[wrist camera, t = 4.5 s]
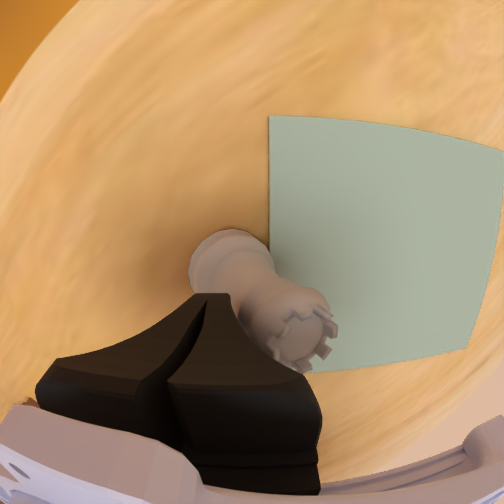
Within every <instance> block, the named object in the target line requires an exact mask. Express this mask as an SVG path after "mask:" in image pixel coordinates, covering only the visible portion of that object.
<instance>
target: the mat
mask: <svg viewBox="0 0 504 504" xmlns="http://www.w3.org/2000/svg"><path fill="white" fill-rule="evenodd" d="M503 190H504V151H501V150H498V149H494V148H491V147H488V146H484V145H481V144H477V143H474V142H470V141H466V140H462V139H458V138H454V137H450V136H445V135H441V134H436V133H431V132H427V131H421V130H416V129H411V128H405V127H399V126H392V125H386V124H379V123H371V122H363V121H354V120H344V119H332V118H318V117H299V116H269V253H270V255H271V257H272V259H273V260H274V267H275V273H276V274H277V275H278V276H279V277H280V278H287V279H290V280H291V281H293V282H294V283H295V284H297V285H298V286H304V287H312V288H315V289H316V290H318V291H319V292H320V293H322V294H323V295H324V296H325V298H326V300H327V302H328V305H329V307H330V313H331V314H332V315H334V316H333V317H332V318H331V319H330V320H331V321H333V322H334V323H335V324H337V325H338V335H337V337H336V338H332V339H330V338H329V337H327V339H326V342H325V344H326V345H328V346H329V347H330V348H331V349H332V351H331V352H330V353H329V355H328V356H327V357H326V359H325V360H324V361H323V360H322V359H321V358H320V357H319V356H318V355H317V354H316V355H315V356H314V357H313V358H311V359H310V360H309V362H310V363H311V364H312V369H313V370H311V371H308V372H306V373H317V372H329V371H339V370H348V369H357V368H365V367H372V366H379V365H386V364H392V363H398V362H404V361H410V360H415V359H420V358H425V357H430V356H435V355H440V354H444V353H448V352H453V351H457V350H461V349H465V348H466V347H467V345H468V342H469V340H470V337H471V334H472V331H473V329H474V326H475V323H476V320H477V317H478V314H479V311H480V308H481V304H482V301H483V298H484V294H485V291H486V287H487V283H488V279H489V275H490V271H491V267H492V262H493V258H494V253H495V248H496V243H497V237H498V231H499V224H500V217H501V210H502V200H503ZM292 369H293V370H295V371H296V369H295V368H292Z"/></svg>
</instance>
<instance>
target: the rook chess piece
mask: <svg viewBox="0 0 504 504" xmlns="http://www.w3.org/2000/svg"><path fill="white" fill-rule="evenodd" d="M188 275H189V280H190V286H191V289H192V290H193V291H194V293H195V294H196V293H228V294H229V295H230V296H231V305H232V308H233V311H234V313H235V315H236V317H237V319H238V321H239V322H240V324H241V326H242V327H243V329H244V330H245V331H246V333H247V334H248V335H249V337H250V338H251V339H252V340H253V341H254V342H255V343H256V344H257V345H258V346H259V347H260V348H261V349H262V350H263V351H264V352H265V353H267V354H268V355H269V356H270V357H271V358H273V359H275V360H276V361H278V362H279V363H281V364H283V365H284V366H287V367H289V368H291V369H292V368H295V369H296V371H297V372H299V373H301V374H304V373H306V372H308V371H311V370H313V369H312V364H311V363H310V362H309V360H310V359H311V358H313V357H314V356H315V355H316V354H317V355H318V356H319V357H320V358H321V359H322V360H323V361H324V360H325V359H326V357H327V356H328V355H329V353H330V352H331V351H332V349H331V348H330V347H329V346H328V345H326V344H325V342H326V339H327V337H329V338H330V339H332V338H336V337H337V335H338V325H337V324H335V323H334V322H333V321H331V320H330V319H331V318H332V317H333V316H334V315H332V314H331V313H330V307H329V305H328V302H327V300H326V298H325V296H324V295H323V294H322V293H320V292H319V291H318V290H316V289H315V288H312V287H304V286H298V285H297V284H295V283H294V282H293V281H291V280H290V279H287V278H280V277H279V276H278V275H277V274H276V273H275V267H274V260H273V259H272V257H271V255H270V253H269V251H268V249H267V247H266V246H265V245H264V244H263V243H261V242H260V241H259V240H258V239H257V238H255V237H254V236H253V235H251V234H250V233H249V232H246V231H241V230H237V229H228V230H223V231H218V232H215V233H214V234H212V235H211V236H209V237H208V238H206V239H205V240H203V241H202V242H201V243H200V244H199V246H198V247H197V249H196V250H195V252H194V253H193V255H192V256H191V261H190V265H189V270H188Z"/></svg>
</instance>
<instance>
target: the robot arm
mask: <svg viewBox="0 0 504 504" xmlns="http://www.w3.org/2000/svg"><path fill="white" fill-rule="evenodd" d="M35 395H36V399H37V402H38V404H39V406H40V408H41V409H39V408H36V407H34V406H27V405H18V404H15V405H14V406H13V407H12V409H11V410H10V412H9V413H8V414H7V416H6V417H5V419H4V420H3V422H2V423H1V424H0V500H1V501H2V502H3V503H5V504H494V503H495V502H496V501H497V500H499V499H500V498H501V497H502V496H503V495H504V417H503V416H502V415H499V416H497V417H495V418H493V419H491V420H489V421H487V422H485V423H482V424H480V425H479V426H477V427H476V428H474V429H473V430H472V431H471V432H470V433H469V434H468V435H467V437H466V438H465V440H464V442H463V444H462V445H460V446H457V447H455V448H453V449H450V450H448V451H445V452H443V453H440V454H438V455H435V456H432V457H429V458H427V459H424V460H421V461H418V462H415V463H412V464H408V465H405V466H402V467H399V468H395V469H392V470H388V471H384V472H380V473H376V474H372V475H367V476H362V477H358V478H353V479H347V480H342V481H336V482H330V483H323V484H320V479H319V474H318V468H317V464H318V454H317V449H316V447H317V443H318V439H319V436H320V432H321V428H322V414H321V410H320V407H319V404H318V402H317V399H316V397H315V395H314V393H313V391H312V389H311V387H310V385H309V383H308V381H307V380H306V378H305V376H304V375H303V374H301V373H299V372H297V371H295V370H293V369H291V368H289V367H287V366H284V365H283V364H281V363H279V362H278V361H276V360H275V359H273V358H271V357H270V356H269V355H268V354H267V353H265V352H264V351H263V350H262V349H261V348H260V347H259V346H258V345H257V344H256V343H255V342H254V341H253V340H252V339H251V338H250V337H249V335H248V334H247V333H246V331H245V330H244V329H243V327H242V326H241V324H240V322H239V321H238V319H237V317H236V315H235V313H234V311H233V308H232V305H231V296H230V295H229V294H228V293H196V294H194V295H193V296H192V297H190V298H189V299H188V300H187V301H186V302H184V303H183V304H182V305H181V306H180V307H178V308H177V309H176V310H175V311H173V312H172V313H171V314H169V315H168V316H166V317H165V318H164V319H162V320H161V321H159V322H158V323H156V324H155V325H153V326H152V327H150V328H149V329H147V330H145V331H143V332H141V333H139V334H138V335H136V336H134V337H131V338H129V339H127V340H124V341H122V342H120V343H117V344H115V345H112V346H109V347H106V348H103V349H100V350H97V351H93V352H89V353H85V354H81V355H75V356H70V357H64V358H57V359H56V360H55V361H54V362H53V364H52V365H51V366H50V368H49V369H48V370H47V371H46V373H45V374H44V375H43V377H42V378H41V379H40V381H39V382H38V383H37V385H36V388H35Z"/></svg>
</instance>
